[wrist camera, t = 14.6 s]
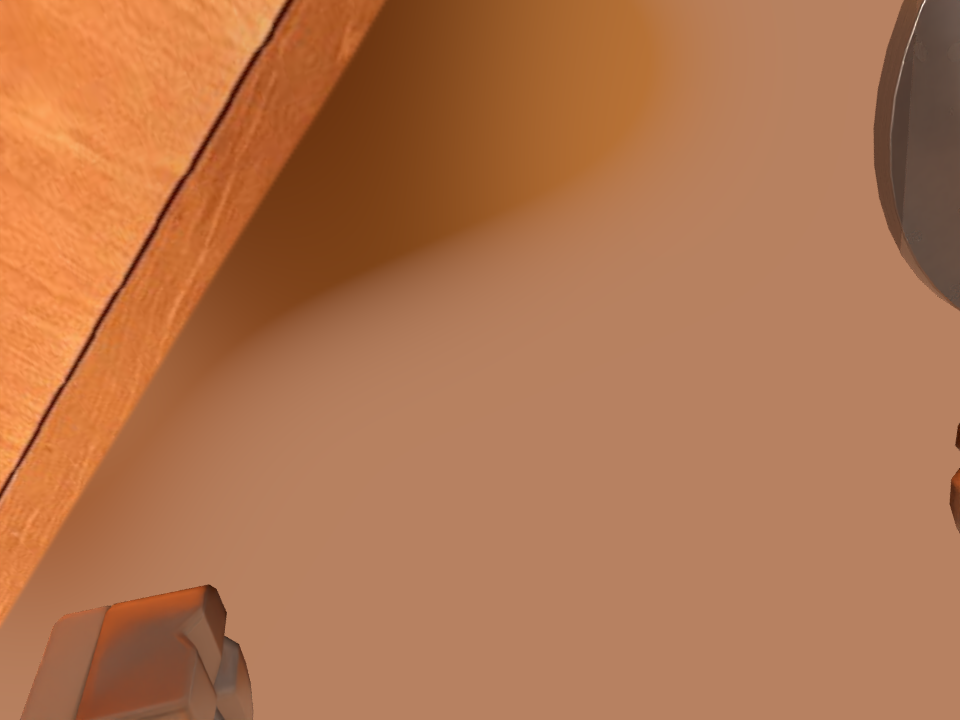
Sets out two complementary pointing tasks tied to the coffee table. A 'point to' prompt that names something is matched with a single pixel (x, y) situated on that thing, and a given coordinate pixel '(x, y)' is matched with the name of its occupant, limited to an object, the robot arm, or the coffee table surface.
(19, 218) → the coffee table surface
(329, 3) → the coffee table surface
